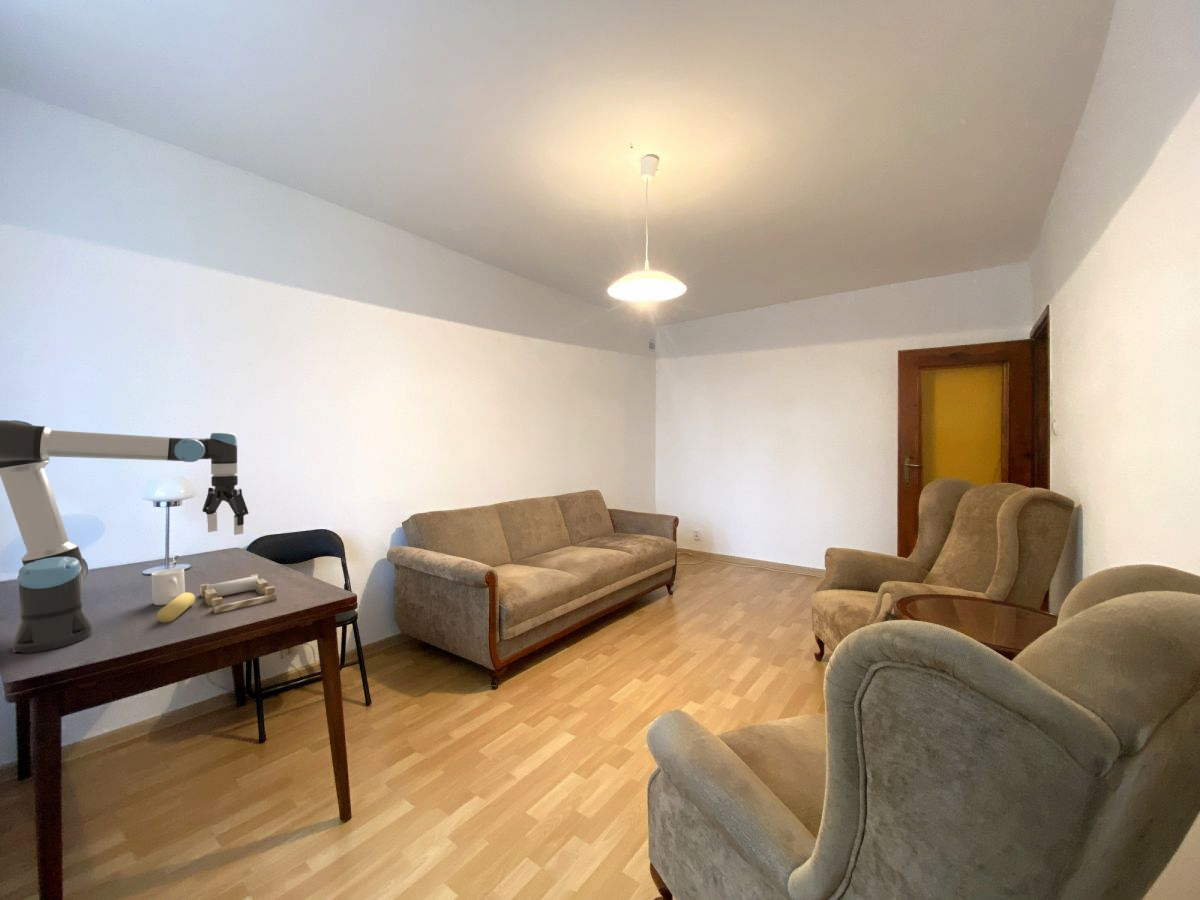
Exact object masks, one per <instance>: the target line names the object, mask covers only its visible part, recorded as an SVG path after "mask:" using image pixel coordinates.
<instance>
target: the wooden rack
mask: <svg viewBox="0 0 1200 900" xmlns="http://www.w3.org/2000/svg"><path fill="white" fill-rule="evenodd" d="M253 576H258V578H259V580H255V581H256V589H255V592H257V593H258V594H259V595H262V596H258V597H252V598H248V599H244V600H239V601H235V602H230V603H226V604H224V602H223V601H224V600H223V599H224V598H223V596H221V597H217V592H216V591H215V589H214V588H213V589H208V590H207V585H211V584H210V583H204V584H199V585H200V588H199V593H200V597H202V598H204V601H205V603H206V605H207V606H208V607H210V606H211V609H212V610H211V611H212V613H214V614H215V615H216V614H218V613H219V614H220V613H223V612H228V611H232V610H236V609H242V608H246V607H250V606H254V605H260V604H262V603H263V604H264V603H267V602H268V603H269V602H271V600H272V601H276V600H275V599H277V597H278V596H277V593H276V587H275V586H274V585H271V586H269V581H268V580H266V579H264V578H260V575H259V574H257V573H256V574H251V575H249V577H253Z"/></svg>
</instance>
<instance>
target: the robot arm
mask: <svg viewBox="0 0 1200 900" xmlns="http://www.w3.org/2000/svg"><path fill="white" fill-rule="evenodd" d="M237 438H238V437H237V435H236V434H235V433H234V432H212V433H211V434H210V436H209V437H207V438H201V437H200V438H196V437H195V438H193V437H191V438H190V437H189V438H188V437H187V438H185V437H182V438H181V437H169V436H166V437H165V436H150V435H149V436H148V435H136V434H135V435H133V434H119V433H118V434H117V433H99V432H88V431H87V432H83V431H67V430H54V429H51V427H48V426H44V425H34V424H32V423H29V422H26V421H22V420H14V419H13V420H11V419H10V420H9V419H7V420H5V419H0V479H1V481H2V484H3V487H4V490H5V493H6V495H7V499H8V501H9V504H10V507H11V510H12V513H13V516H14V519H15V521H16V524H17V527H18V530H19V533H20V535H21V538H22V541H23V544H24V547H25V550H26V553H25V554H24V555H23V557H22V558H21V562H22V566H21V567H20V569H19V570H18V575H17V579H16V581H17V583H18V591H19V592H18V595H19V609H20V610H19V611H20V623H19V626H18V628H17V630H16V633H15V636H14V638H13V640H12V642H11V644H12V645H11V647H12V649H13V650H14V651H15V652H22V653H21V654H31V653H32V654H33V653H37V652H38V653H39V652H44V651H45V652H46V651H49V650H54V649H58V648H62V647H67V646H70V645H73V644H76V643H79V642H82V641H83V640H85V639H87V638H89V637H90V636H91V635H93V626H92V624H91V622H90V621H89V618H88V617H87V615H86V613H85V612H84V610H83V598H82V597H83V595H82V584H83V582H84V581H85V580H86V578H87V576H88V571H89V564H88V562H87V561H86V560H85V559H84V558H83V556H82V553H81V550H80V546H79V545H78V544H76V543H73V542H70V541H69V538H68V534H67V532H66V528H65V526H64V522H63V520H62V516H61V514H60V511H59V508H58V505H57V501H56V500H55V499H56V498H55V496H54V493H53V490H52V487H51V484H50V481H49V478H48V476H47V472H46V469H45V467H46V466H47V465H48V464H49V463H50V462H51V461H50V458H52V457H55V458H57V457H58V458H81V459H83V458H84V459H112V460H113V459H116V460H139V461H140V460H144V461H171V462H184V463H195V462H197V461H199V460H210V463H211V464H210V474H211V475H212V476H211V481H210V483H211V486H212V487H208V488H207V489H208V490H207V495H206V498H205V502H204V504H203V507H202V510H201V511H202V513H205V514H206V515H207V516H206V518H207V533H212V532H217V531H218V514H217V513H218V511H217V510H218V509H219V506H220V505H221V503H222V501H223V502H226V503H228V505H229V506H230V509H231V510H232V511H233V514H234V515H233V528H234V529H233V534H234V536H237V535H242V534H244V524H245V522H244V520H245V518H244V517H245V516H247V515H249V510H248V507H247V503H246V501H245V498H244V496H243V490H242V488H235V486H237V485H238V482H239V481H238V480H239V479H238V478H239V477H238V475H236V474H238V439H237ZM12 649H11V650H12ZM15 652H14V653H15Z"/></svg>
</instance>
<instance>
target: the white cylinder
mask: <svg viewBox="0 0 1200 900" xmlns="http://www.w3.org/2000/svg"><path fill="white" fill-rule="evenodd" d="M259 579H260V577H259V578H258V576H253V577H250V576H249V577H243V578H239V579H232V580H229V581H228V580H227V581H222V582H218V583H212V584H210V585H207V590H208V589H213V588H214V589H215V591H216V592H217V598H218V597H226V596H230V595H234V594H235V593H236V594H239V593H245V592H249V591H256V581H255V580H259ZM236 594H235V595H236Z"/></svg>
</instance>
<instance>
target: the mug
mask: <svg viewBox="0 0 1200 900" xmlns="http://www.w3.org/2000/svg"><path fill="white" fill-rule="evenodd" d="M150 575H151V576H150V577H151V592H152V595H151V596H152V604H153V605H156V606H164V605H165V606H166V605H167V604H169V603H170V602H171V601H173V600H174V599H175V598H176V597H178V596H179V595H180V594H182V593H185V592H186V586H185V585H186V583H185V581H186V580H185V569H184V568H182V567H181V568H180V567H179V568H177V567H175V568H174V567H173V568H166V569H162V570H157V571H154V572H152V573H151V574H150Z"/></svg>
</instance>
